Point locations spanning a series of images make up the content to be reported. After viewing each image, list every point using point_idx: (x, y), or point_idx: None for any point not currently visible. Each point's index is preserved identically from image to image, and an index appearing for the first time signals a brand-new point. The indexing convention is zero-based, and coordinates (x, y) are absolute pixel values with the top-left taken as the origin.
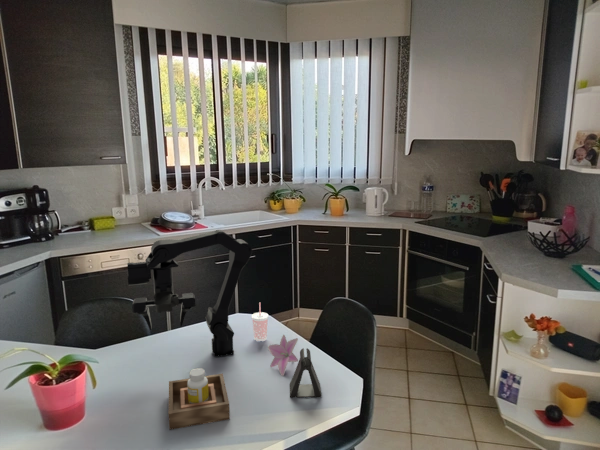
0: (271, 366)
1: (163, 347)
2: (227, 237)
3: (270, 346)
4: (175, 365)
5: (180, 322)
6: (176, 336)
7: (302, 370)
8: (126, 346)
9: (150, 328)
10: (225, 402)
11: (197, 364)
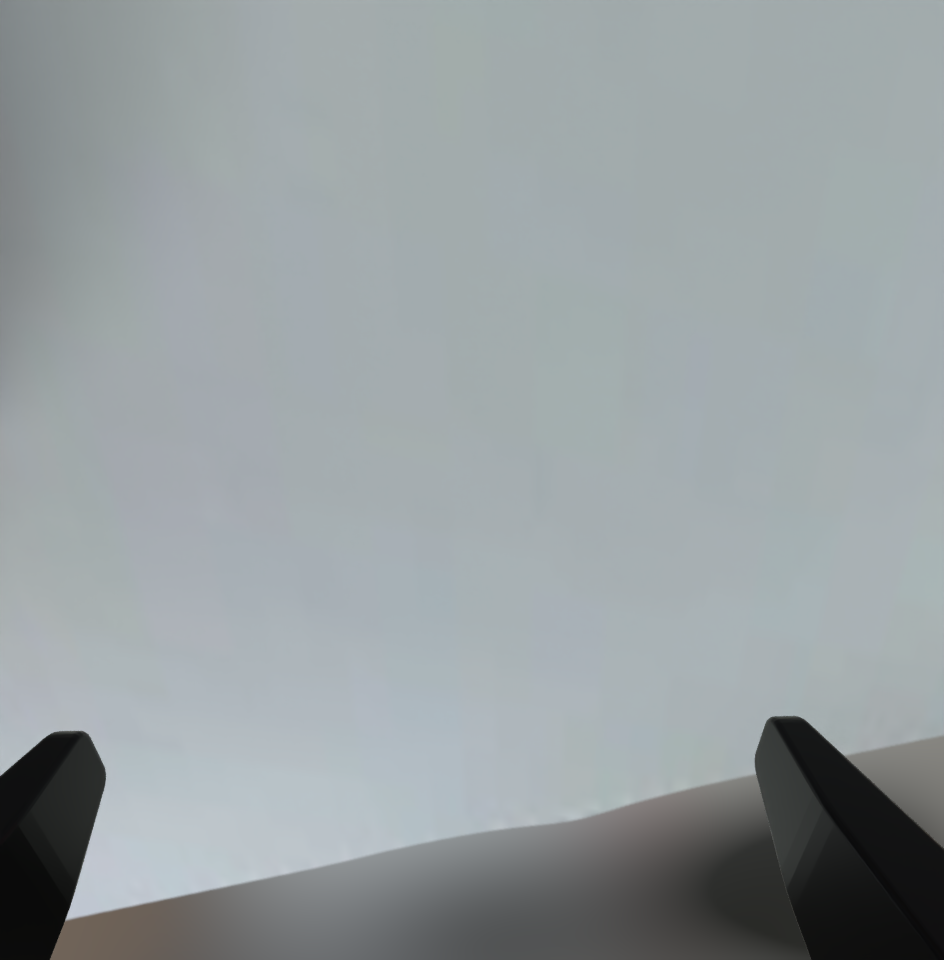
0: None
1: (501, 647)
2: None
3: None
4: (355, 274)
5: (5, 830)
6: (394, 775)
7: None
8: (811, 717)
9: (811, 745)
10: None
11: (72, 225)
